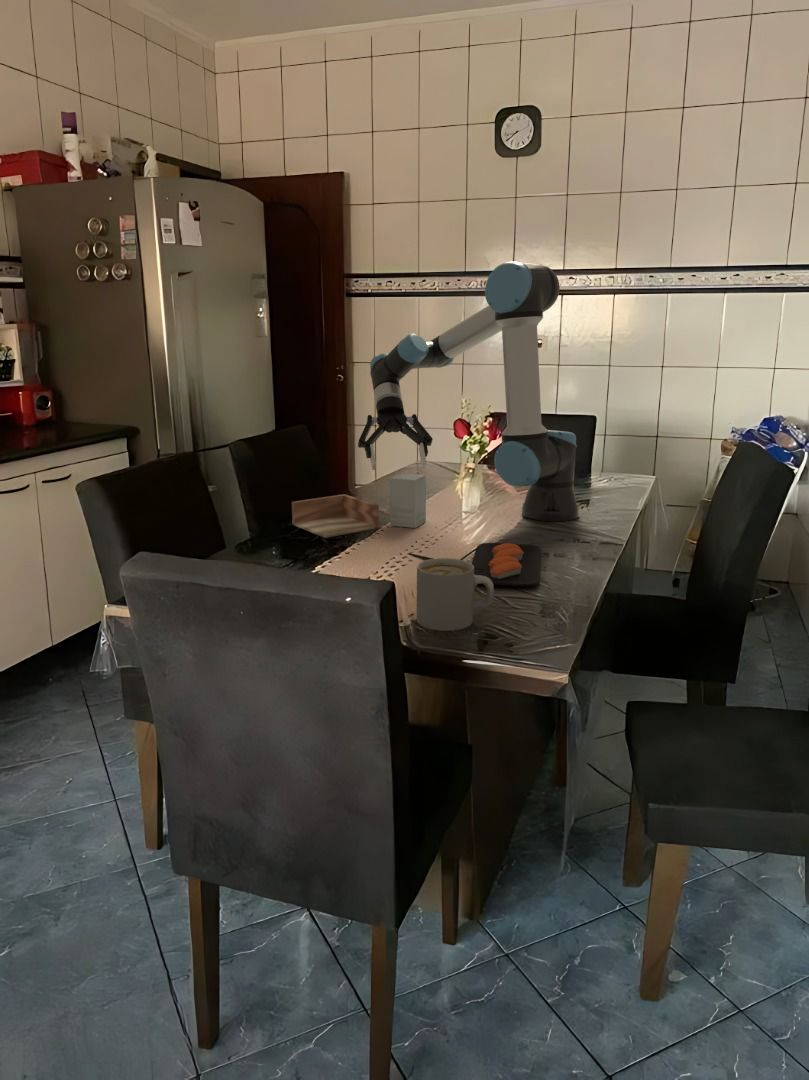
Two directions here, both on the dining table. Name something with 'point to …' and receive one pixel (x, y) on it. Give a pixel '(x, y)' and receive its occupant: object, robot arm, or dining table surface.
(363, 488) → the dining table surface
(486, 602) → the coffee mug
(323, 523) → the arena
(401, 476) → the supplement box
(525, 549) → the sushi plate
